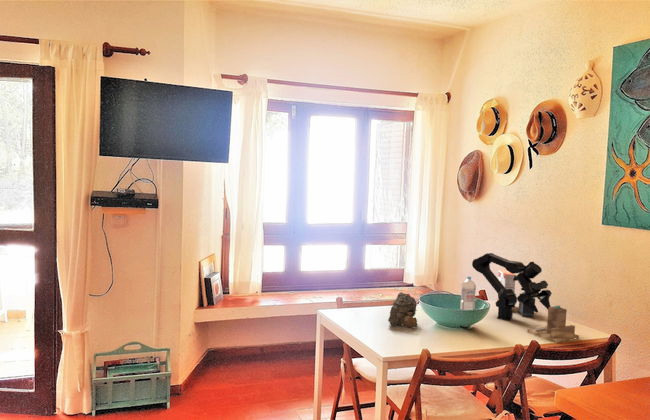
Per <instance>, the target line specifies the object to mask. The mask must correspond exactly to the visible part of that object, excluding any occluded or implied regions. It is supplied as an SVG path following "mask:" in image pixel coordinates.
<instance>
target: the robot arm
mask: <svg viewBox="0 0 650 420" xmlns="http://www.w3.org/2000/svg"><path fill="white" fill-rule="evenodd" d="M491 264H495V265H497V266H500V267H502V268H505V270H507V271H509V272H510V273H512V274H515V276H514V279H513V281H515V282H516V281H517V282H518V284H519V285H520V286H521V288H520V290H521V291H523V292H522V293H519V295H518V296H517V294H516V293H515V292H513V290H512V289H506V288H505V287H504V286H503V285H502V283H501V282H500V281H499V280H498V277H497V275H495V273H494V272H493V271H492V270H491ZM471 266H472V268H473V269H474V270H475V271H476V272H478V273H480V274H482V275H483V277H484V278H485V279H486V280H487V282H488V283H489V285H490V286H492V288H493V289H494V291H495V292H496V293H497V294H498V299H499V300H498V301H497V300H496V301H495V306H496V307H497V311H498V312H497V317H496V319H499V320H504V321H511V320H512V319H513V314H514V310H512V307H514V308H515V307H516V304H517V302H518V304H519V303H521V302H522V304H524V305H526V306H527V307H529V308H530V309H532V310H533V311H534V313H539V309H538V308H537V305H536V303H535V304H534V302H533V298H535V299H536V298H537V299H538V300H539V303H541V305H542V306H544V307H545V308H546V309H547V310H548V307H552V306H551V304H550V297H551V296H552V292H551V290H549V289H548V287H549V283H548V282H547V281H546V280H541V281H540V282H535V281H532V279H534V278H536V277H537V276H538V275H540V274H541V273H542V268H541V266H540V265H538V264H537V263H536V262H534V261H530V262H529V263H528V264H527V265H525V264H524V263H523V262H521V261H516V260H509V259H507V258H504V257H501V256H500V255H497V254H494V253H493V252H489V253H488V252H487V253H484V255H481V256H479V257H477V258H474V259H473V260H472V264H471ZM516 274H517V275H516Z"/></svg>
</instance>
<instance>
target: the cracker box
mask: <svg viewBox="0 0 650 420" xmlns="http://www.w3.org/2000/svg"><path fill="white" fill-rule="evenodd" d="M497 274H498V277H497V278H498V280H499V281H500V282H501V283H502V285H503V286H504V287H505V288H506V289H512V290H513V292H514V293H515V290H516V288H515V287H516V281H513V279H514V276H515V275H516V273H515V274H512V273H510V272H509V271H507V270H506V269H498V273H497ZM498 300H499V299H498V293H497V295H496V302H497V301H498ZM514 308H515V306H514V307H512V310H513V311H515V310H514Z"/></svg>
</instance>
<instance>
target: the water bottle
mask: <svg viewBox="0 0 650 420" xmlns="http://www.w3.org/2000/svg"><path fill="white" fill-rule="evenodd" d="M460 286H461V291H460V297H461V298H460V308H459V310H460V309H462V310H473V309H475V310H476V308H475V307H476V306H475V305H476V289H477V285H476V283H475V282H474V281H473V280H472V276H467V277H466V279H465V280H463V282H462V284H461V285H460ZM474 325H475V324H474ZM474 325H472V326H471V327H470V328H469V329H473V328H474ZM472 327H473V328H472Z"/></svg>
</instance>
